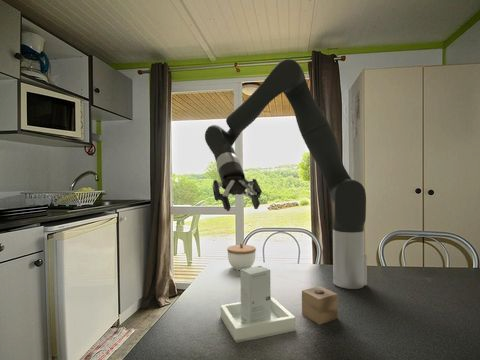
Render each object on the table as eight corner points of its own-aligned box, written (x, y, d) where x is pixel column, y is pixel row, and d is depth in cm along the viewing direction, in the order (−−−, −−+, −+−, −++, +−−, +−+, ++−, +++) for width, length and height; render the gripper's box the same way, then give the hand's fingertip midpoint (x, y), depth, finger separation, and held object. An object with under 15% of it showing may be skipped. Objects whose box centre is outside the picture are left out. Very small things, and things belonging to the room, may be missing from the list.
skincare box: (250, 328, 66) (249, 274, 66) (239, 320, 70) (239, 269, 69) (272, 321, 69) (271, 269, 69) (260, 313, 73) (260, 264, 73)
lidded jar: (238, 262, 119) (238, 239, 119) (261, 267, 113) (261, 242, 113) (221, 269, 110) (221, 244, 110) (245, 274, 104) (244, 248, 104)
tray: (272, 308, 77) (272, 296, 77) (295, 330, 66) (295, 317, 66) (220, 317, 72) (220, 305, 72) (236, 343, 61) (235, 328, 61)
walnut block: (319, 309, 77) (319, 285, 76) (337, 318, 71) (337, 293, 71) (302, 314, 74) (301, 290, 74) (319, 324, 68) (319, 298, 68)
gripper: (209, 160, 90) (221, 201, 79) (253, 160, 94) (269, 198, 84) (206, 178, 95) (216, 218, 84) (247, 177, 99) (262, 214, 89)
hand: (243, 208), depth 84 cm, fingers open, 8 cm apart
